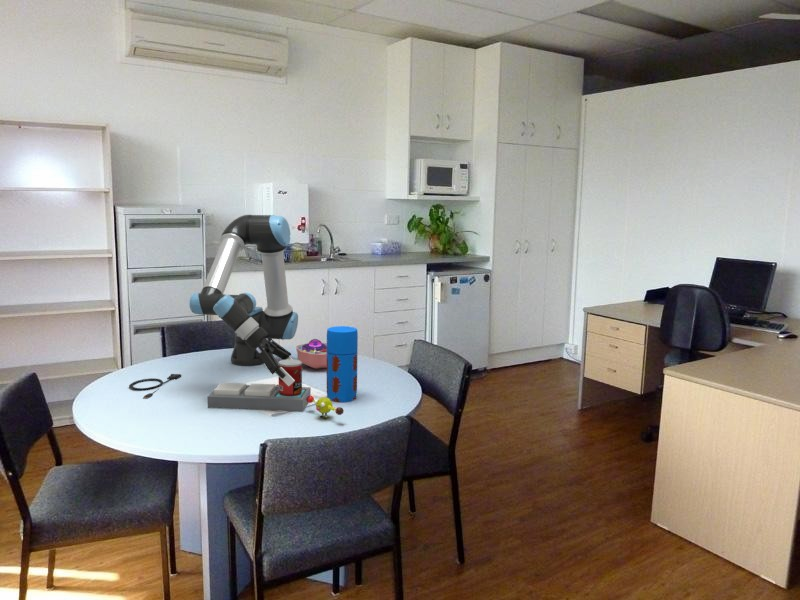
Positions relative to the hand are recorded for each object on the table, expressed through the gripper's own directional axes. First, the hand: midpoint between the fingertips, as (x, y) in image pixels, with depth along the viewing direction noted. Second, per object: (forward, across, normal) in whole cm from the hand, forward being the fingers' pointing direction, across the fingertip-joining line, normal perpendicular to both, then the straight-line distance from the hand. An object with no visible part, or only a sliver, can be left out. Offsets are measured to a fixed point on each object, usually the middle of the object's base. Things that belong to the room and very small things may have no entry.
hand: (296, 377), depth 217 cm
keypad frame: (-2, 0, -16) cm, 16 cm away
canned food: (+3, 0, -6) cm, 6 cm away
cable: (-34, -15, -49) cm, 61 cm away
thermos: (+17, -9, +4) cm, 20 cm away
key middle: (-4, 0, -14) cm, 15 cm away
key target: (+5, 0, -8) cm, 9 cm away
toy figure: (+15, +12, +1) cm, 19 cm away
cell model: (+6, -48, -8) cm, 49 cm away
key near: (-11, 0, -21) cm, 24 cm away
